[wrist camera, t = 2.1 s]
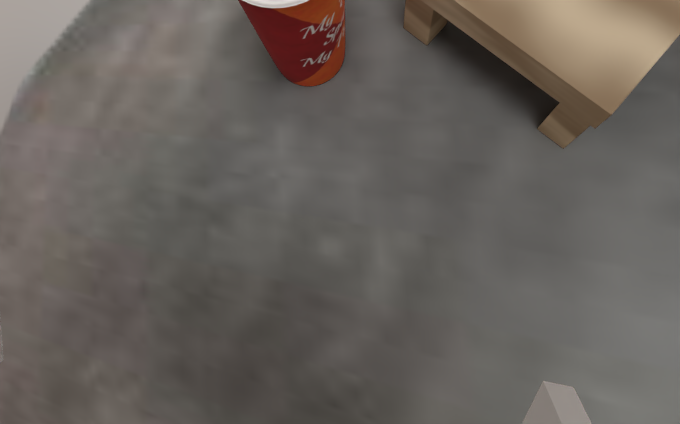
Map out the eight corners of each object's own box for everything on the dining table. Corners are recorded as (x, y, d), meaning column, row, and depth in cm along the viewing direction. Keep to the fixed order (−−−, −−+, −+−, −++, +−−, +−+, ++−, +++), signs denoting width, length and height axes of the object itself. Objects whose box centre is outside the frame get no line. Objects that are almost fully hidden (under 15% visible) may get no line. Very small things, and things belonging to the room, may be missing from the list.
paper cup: (346, 108, 40) (328, 5, 27) (251, 89, 41) (187, -20, 27) (368, 17, 41) (362, -127, 28) (276, 1, 42) (226, -146, 29)
